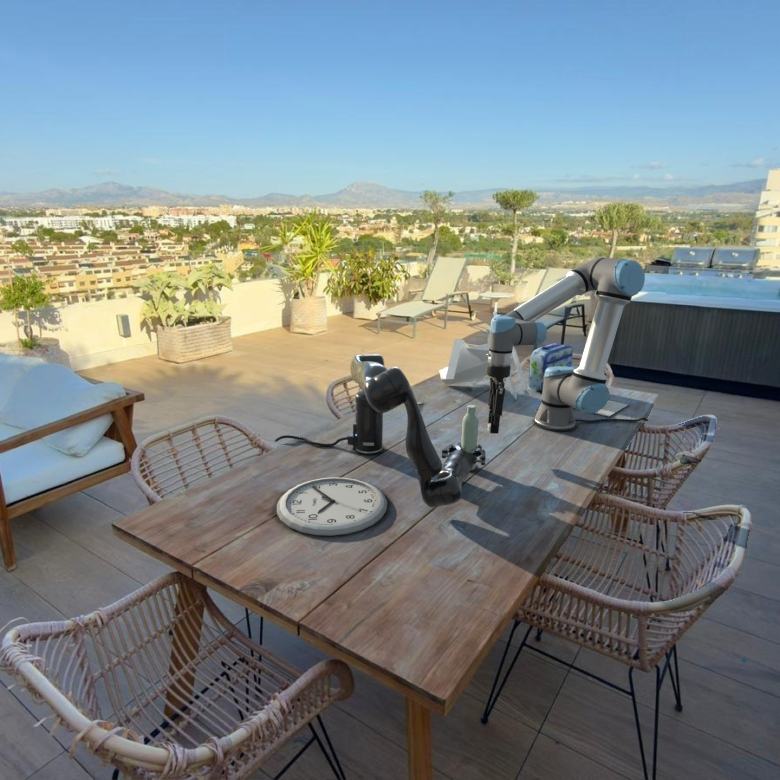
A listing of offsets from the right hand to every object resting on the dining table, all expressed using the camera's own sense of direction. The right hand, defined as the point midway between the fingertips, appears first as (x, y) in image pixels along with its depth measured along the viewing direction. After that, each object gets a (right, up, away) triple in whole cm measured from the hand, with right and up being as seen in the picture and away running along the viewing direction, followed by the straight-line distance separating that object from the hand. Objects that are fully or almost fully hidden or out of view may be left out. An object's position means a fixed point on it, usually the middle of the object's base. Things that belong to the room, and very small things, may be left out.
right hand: (492, 430), depth 178 cm
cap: (0, +2, 0) cm, 2 cm away
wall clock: (-51, -18, -35) cm, 64 cm away
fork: (-24, +7, +44) cm, 51 cm away
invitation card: (+56, +6, +48) cm, 74 cm away
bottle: (-10, -11, -11) cm, 19 cm away
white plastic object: (+7, +13, +65) cm, 66 cm away
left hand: (-9, -4, -11) cm, 15 cm away
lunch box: (+41, +15, +74) cm, 86 cm away
